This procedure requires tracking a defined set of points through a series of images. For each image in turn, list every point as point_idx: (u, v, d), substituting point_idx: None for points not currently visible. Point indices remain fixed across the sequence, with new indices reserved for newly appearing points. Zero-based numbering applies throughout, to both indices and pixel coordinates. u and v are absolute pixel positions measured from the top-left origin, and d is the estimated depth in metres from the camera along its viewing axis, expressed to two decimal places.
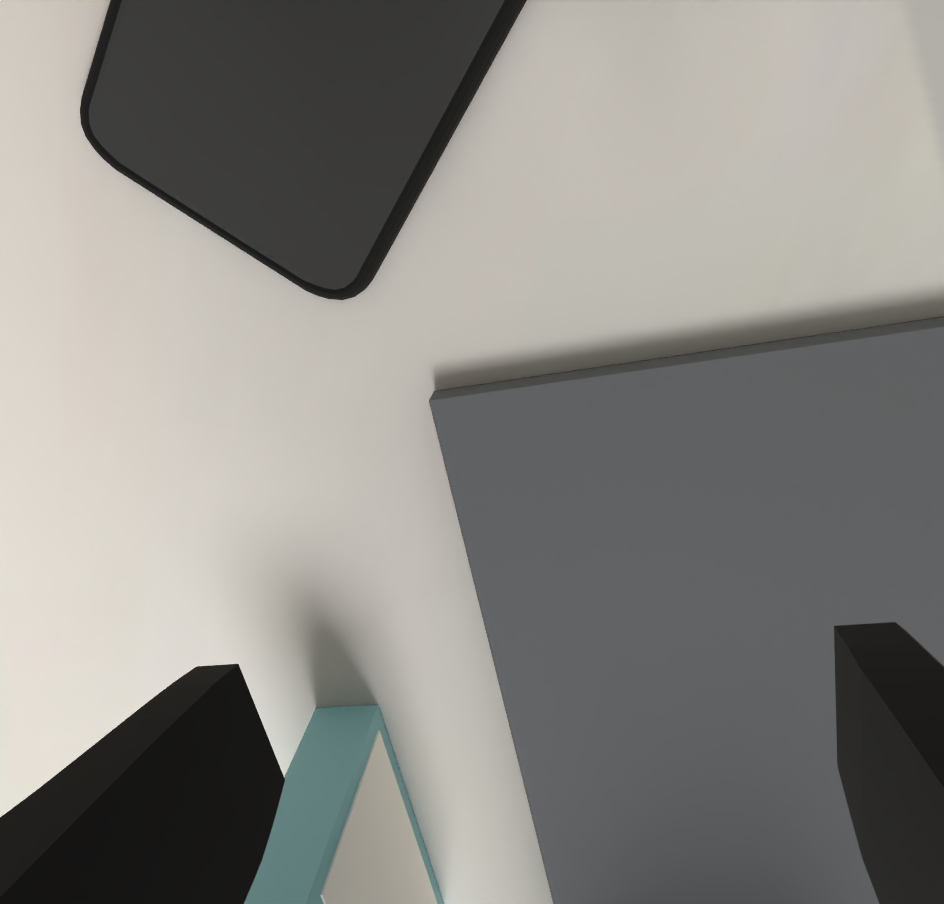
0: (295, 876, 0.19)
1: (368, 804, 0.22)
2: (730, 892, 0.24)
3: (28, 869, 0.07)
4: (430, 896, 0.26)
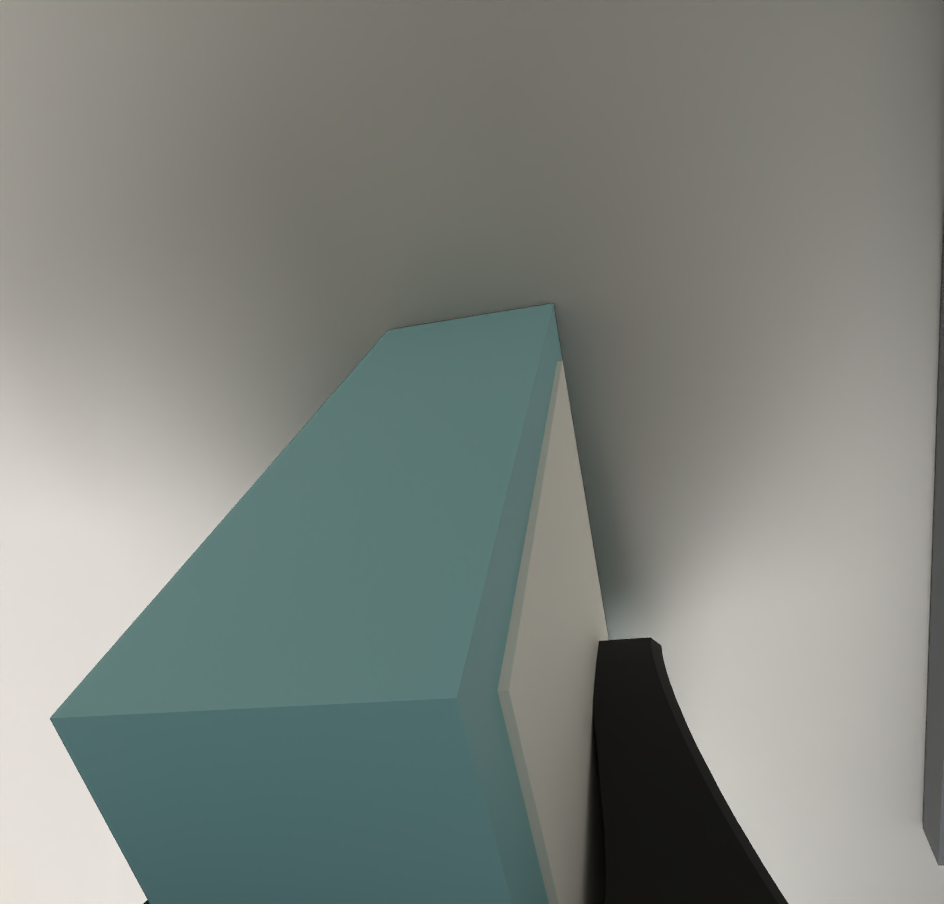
0: (382, 606, 0.04)
1: (564, 510, 0.07)
2: None
3: None
4: None
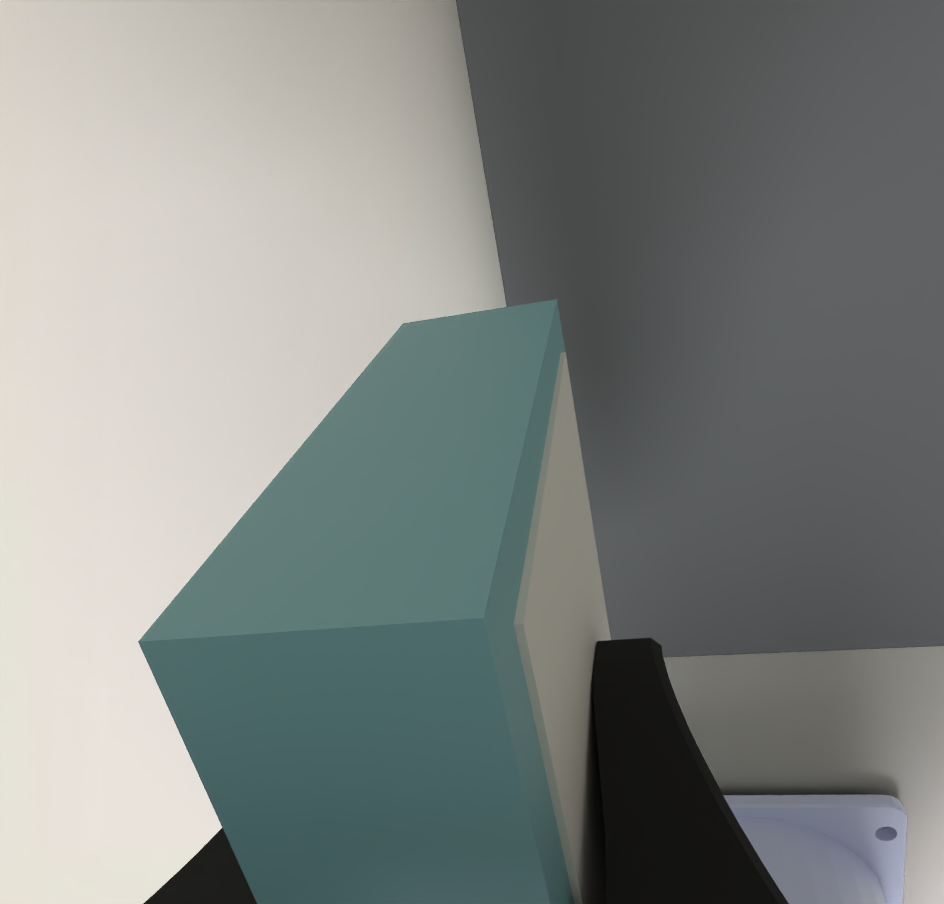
0: (417, 551, 0.05)
1: (567, 486, 0.08)
2: (798, 611, 0.18)
3: None
4: None
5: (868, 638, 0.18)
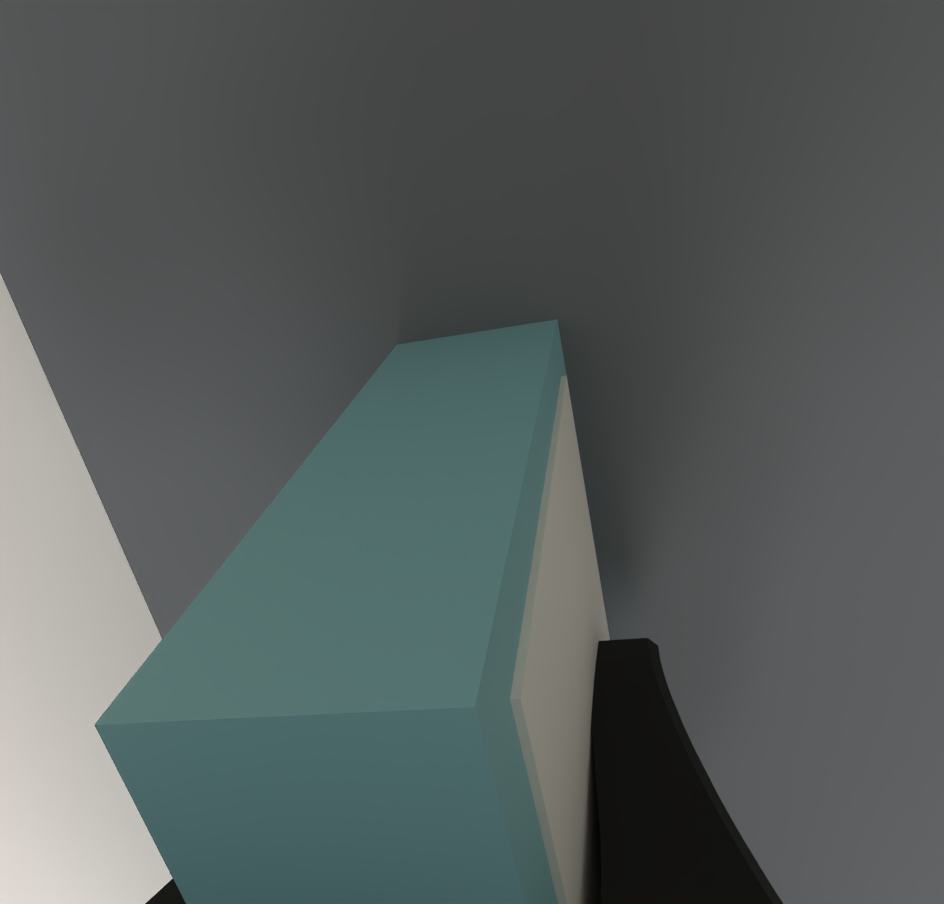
0: (403, 619, 0.04)
1: (569, 521, 0.07)
2: None
3: None
4: None
5: None
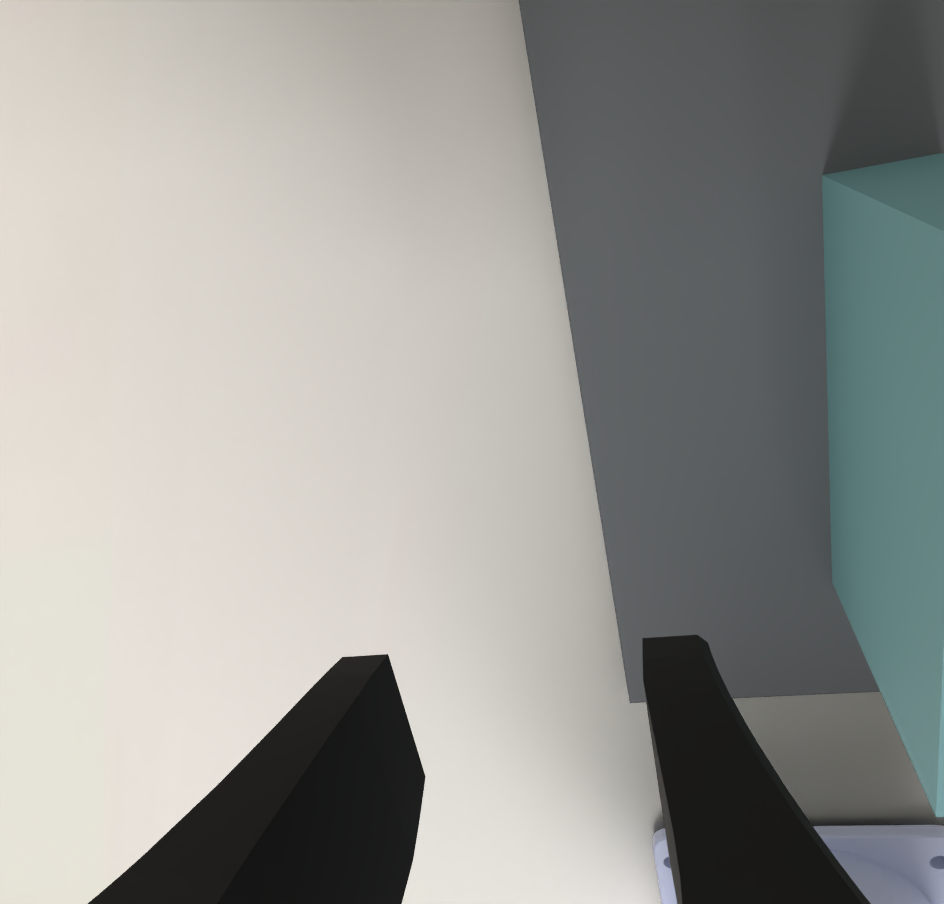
0: None
1: None
2: (856, 655, 0.19)
3: (236, 870, 0.06)
4: None
5: None
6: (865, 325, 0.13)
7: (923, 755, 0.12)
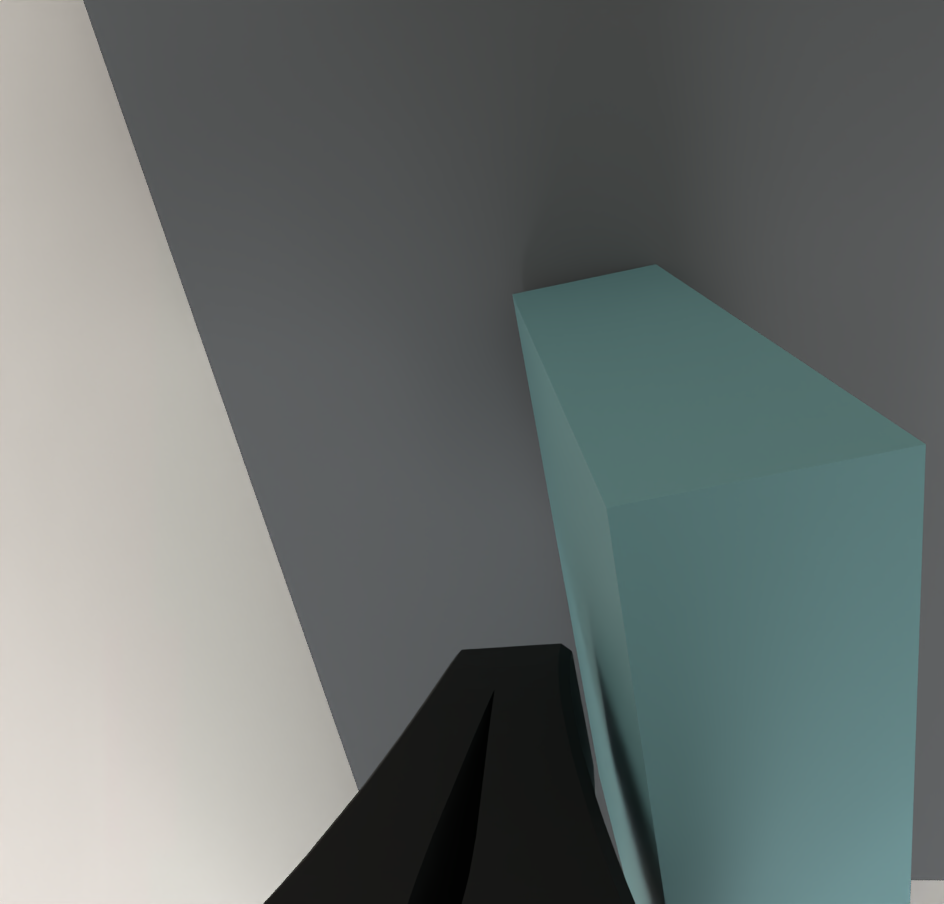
0: (794, 420, 0.06)
1: None
2: None
3: (415, 870, 0.06)
4: None
5: None
6: (566, 519, 0.09)
7: None
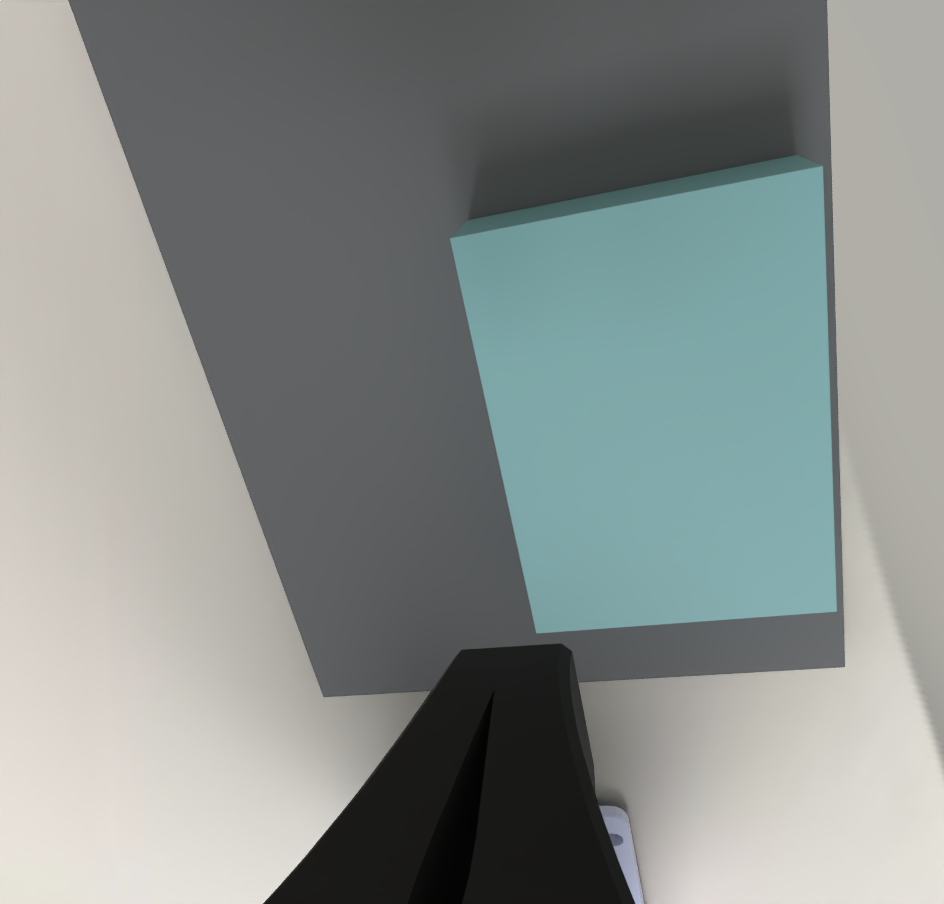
0: (762, 165, 0.14)
1: None
2: None
3: (414, 870, 0.06)
4: None
5: None
6: (617, 322, 0.15)
7: (807, 585, 0.16)
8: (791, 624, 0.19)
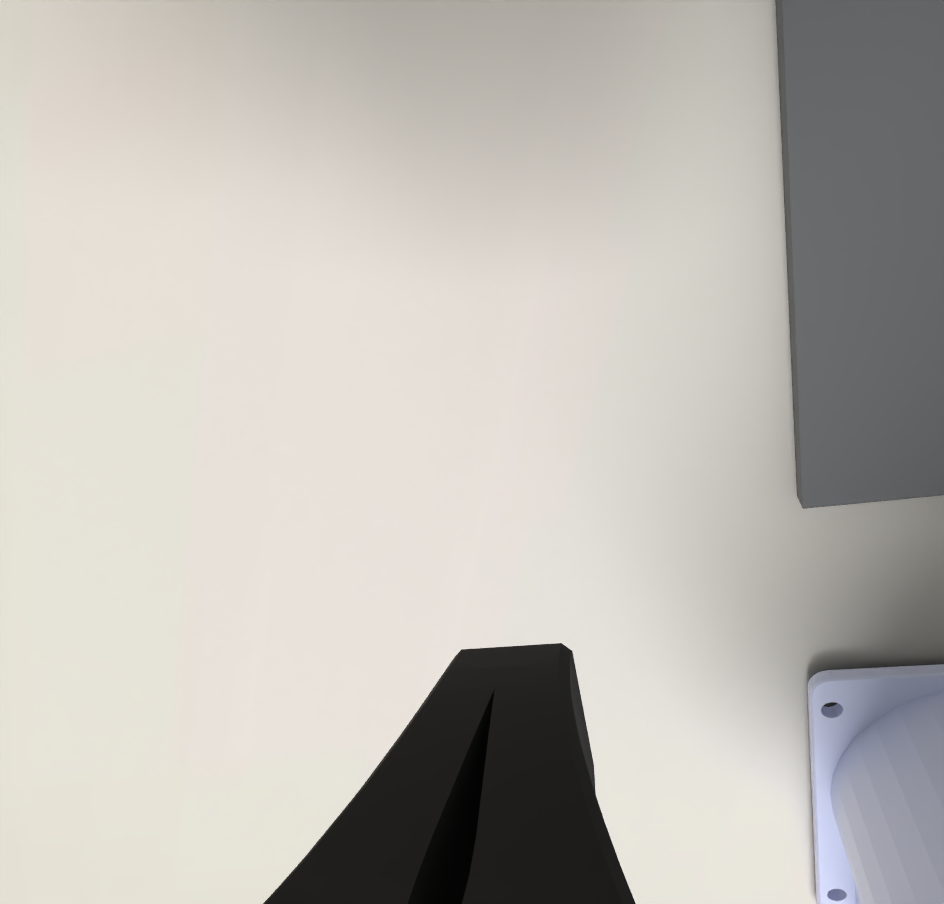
0: None
1: None
2: None
3: (414, 869, 0.06)
4: None
5: None
6: None
7: None
8: None
